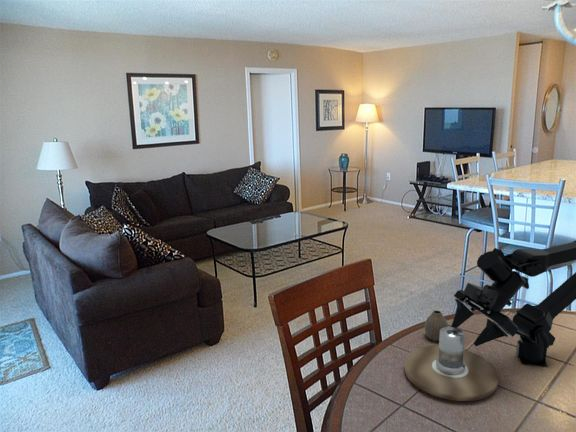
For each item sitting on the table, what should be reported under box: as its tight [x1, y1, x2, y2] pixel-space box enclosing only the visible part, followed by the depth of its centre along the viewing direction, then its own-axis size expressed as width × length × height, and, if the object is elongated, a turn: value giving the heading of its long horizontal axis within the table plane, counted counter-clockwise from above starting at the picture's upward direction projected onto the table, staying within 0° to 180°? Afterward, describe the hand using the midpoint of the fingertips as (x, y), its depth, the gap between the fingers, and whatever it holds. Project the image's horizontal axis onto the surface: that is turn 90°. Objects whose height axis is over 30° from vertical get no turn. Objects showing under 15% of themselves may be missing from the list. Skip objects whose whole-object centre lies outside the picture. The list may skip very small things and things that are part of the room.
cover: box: [436, 326, 466, 375], centre depth 116 cm, size 7×7×10 cm
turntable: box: [404, 345, 499, 402], centre depth 117 cm, size 23×23×2 cm
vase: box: [424, 309, 449, 342], centre depth 136 cm, size 7×7×9 cm
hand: (463, 336), depth 116 cm, fingers open, 9 cm apart
